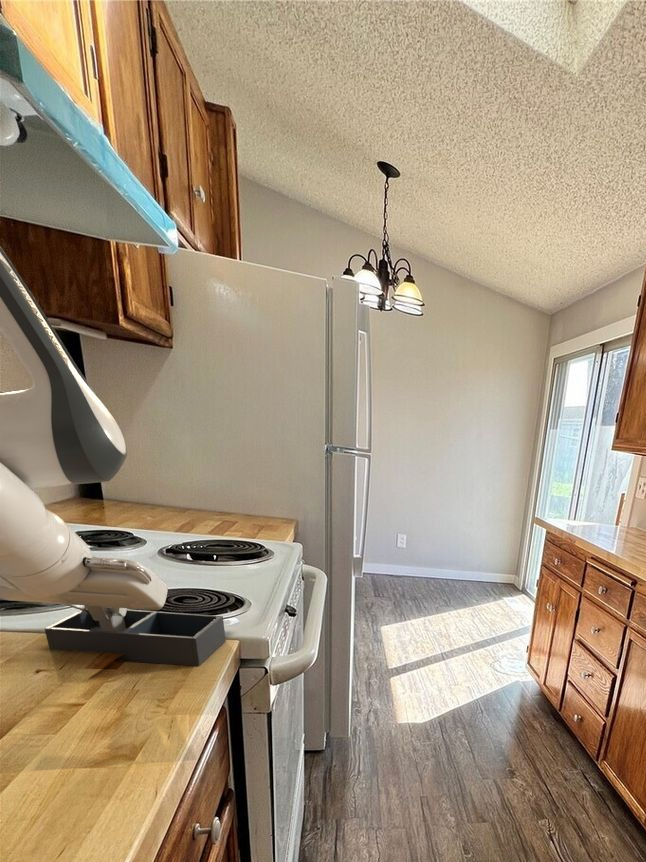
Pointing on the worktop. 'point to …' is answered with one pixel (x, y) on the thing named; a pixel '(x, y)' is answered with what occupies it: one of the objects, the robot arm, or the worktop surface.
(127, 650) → the sorter
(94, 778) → the worktop surface
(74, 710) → the worktop surface
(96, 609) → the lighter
